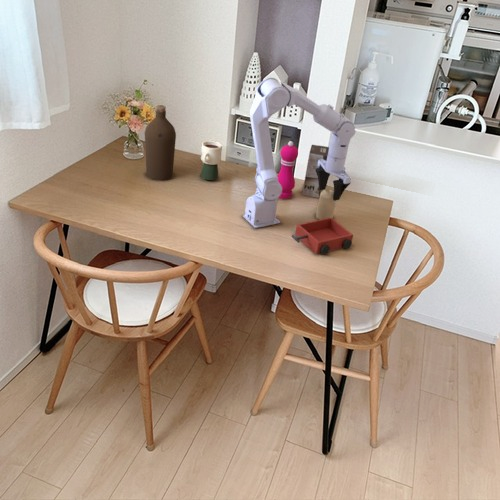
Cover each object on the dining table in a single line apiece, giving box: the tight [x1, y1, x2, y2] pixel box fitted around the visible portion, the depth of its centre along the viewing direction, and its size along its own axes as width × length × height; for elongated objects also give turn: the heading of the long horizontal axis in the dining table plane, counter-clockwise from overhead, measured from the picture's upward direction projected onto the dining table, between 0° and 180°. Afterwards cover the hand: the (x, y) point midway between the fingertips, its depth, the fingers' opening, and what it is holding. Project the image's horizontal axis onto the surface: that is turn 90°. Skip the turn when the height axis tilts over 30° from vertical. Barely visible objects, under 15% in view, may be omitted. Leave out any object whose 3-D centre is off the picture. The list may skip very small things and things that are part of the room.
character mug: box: [200, 140, 223, 181], centre depth 190 cm, size 11×7×13 cm, turn 158°
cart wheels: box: [291, 234, 353, 255], centre depth 162 cm, size 17×13×3 cm
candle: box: [315, 188, 337, 220], centre depth 174 cm, size 6×6×10 cm
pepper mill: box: [277, 140, 299, 200], centre depth 183 cm, size 7×7×20 cm
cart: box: [294, 218, 354, 255], centre depth 163 cm, size 13×11×4 cm
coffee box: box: [301, 144, 329, 199], centre depth 189 cm, size 9×6×16 cm
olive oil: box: [144, 104, 177, 181], centre depth 184 cm, size 11×11×25 cm
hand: (328, 194), depth 173 cm, fingers open, 7 cm apart
